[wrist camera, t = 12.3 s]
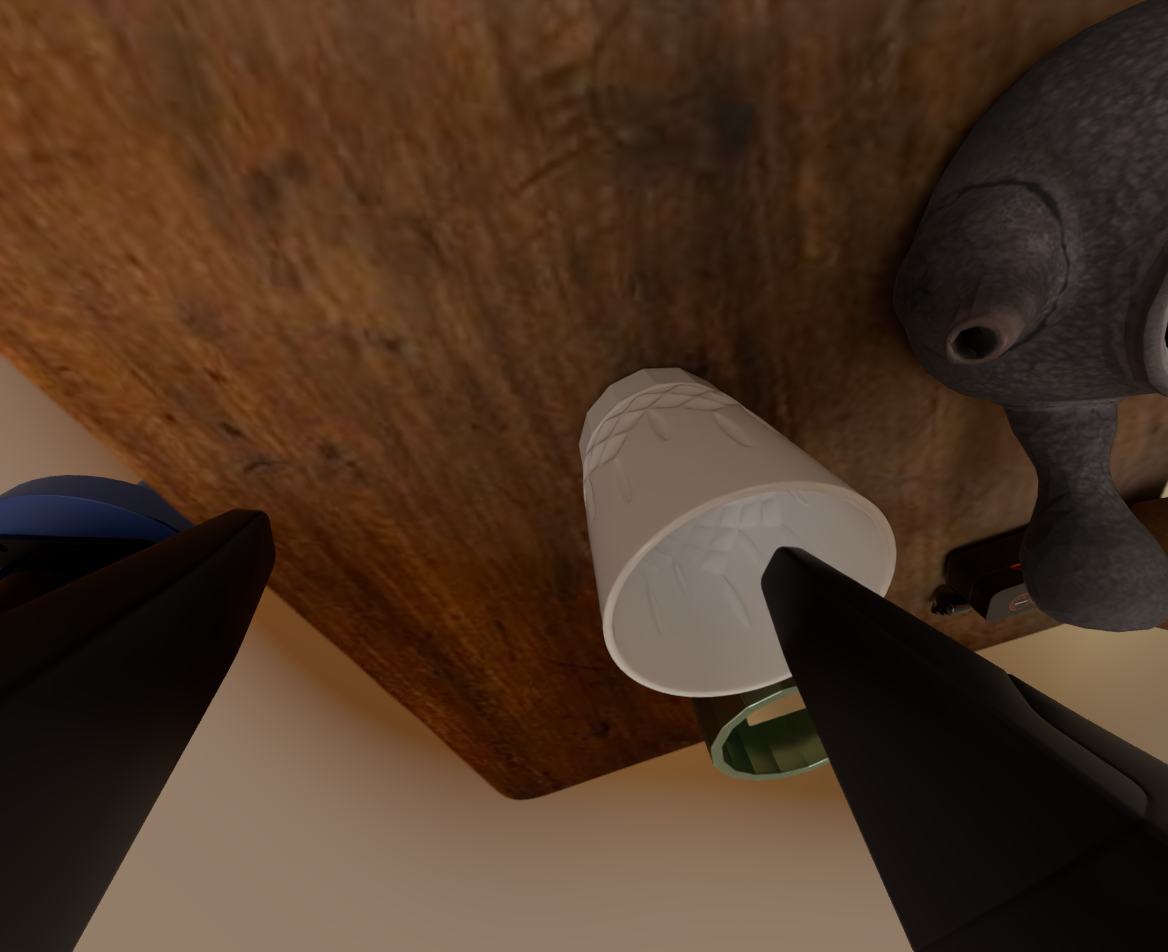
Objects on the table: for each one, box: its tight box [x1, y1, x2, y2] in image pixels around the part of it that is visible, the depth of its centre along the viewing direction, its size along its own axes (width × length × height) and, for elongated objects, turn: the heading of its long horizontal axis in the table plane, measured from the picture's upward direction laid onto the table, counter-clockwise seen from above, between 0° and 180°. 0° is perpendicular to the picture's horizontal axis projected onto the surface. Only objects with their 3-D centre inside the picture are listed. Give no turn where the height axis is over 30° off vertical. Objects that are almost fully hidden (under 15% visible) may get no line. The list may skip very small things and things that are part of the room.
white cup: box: [579, 368, 896, 697], centre depth 16 cm, size 8×8×10 cm
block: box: [746, 693, 806, 726], centre depth 26 cm, size 4×4×4 cm
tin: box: [690, 677, 830, 781], centre depth 26 cm, size 9×9×6 cm
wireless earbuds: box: [931, 531, 1038, 622], centre depth 26 cm, size 5×7×3 cm, turn 109°
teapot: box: [893, 0, 1168, 632], centre depth 15 cm, size 19×15×10 cm
